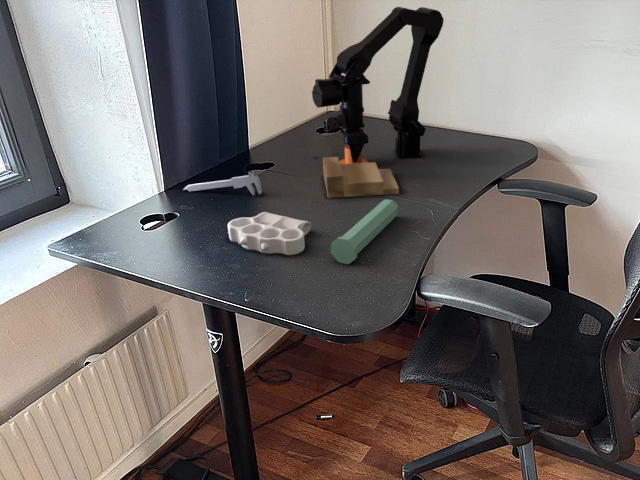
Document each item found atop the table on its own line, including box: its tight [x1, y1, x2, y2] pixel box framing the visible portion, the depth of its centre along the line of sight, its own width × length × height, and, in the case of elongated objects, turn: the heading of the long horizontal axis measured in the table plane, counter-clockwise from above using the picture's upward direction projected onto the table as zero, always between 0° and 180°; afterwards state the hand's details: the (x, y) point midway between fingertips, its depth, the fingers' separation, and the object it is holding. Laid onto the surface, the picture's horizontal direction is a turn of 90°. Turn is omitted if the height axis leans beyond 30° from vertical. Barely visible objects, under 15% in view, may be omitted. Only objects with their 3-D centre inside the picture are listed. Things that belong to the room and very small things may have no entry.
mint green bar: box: [330, 198, 399, 265], centre depth 133 cm, size 6×6×25 cm
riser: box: [322, 156, 400, 199], centre depth 158 cm, size 18×14×6 cm
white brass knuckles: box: [227, 211, 312, 256], centre depth 132 cm, size 3×18×15 cm
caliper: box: [182, 170, 263, 196], centre depth 153 cm, size 20×1×6 cm, turn 83°
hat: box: [339, 144, 369, 164], centre depth 171 cm, size 8×8×5 cm
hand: (353, 158), depth 171 cm, fingers closed on hat, 5 cm apart
